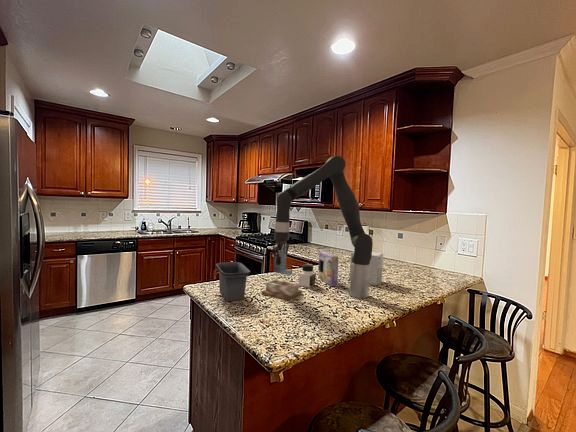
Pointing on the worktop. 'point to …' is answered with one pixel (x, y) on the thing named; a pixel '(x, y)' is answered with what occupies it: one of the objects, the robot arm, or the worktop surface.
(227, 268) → the storage bin
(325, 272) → the cake pan box
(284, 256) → the bracket
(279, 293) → the well block
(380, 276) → the supplement box
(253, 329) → the worktop surface
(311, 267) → the medicine bottle
